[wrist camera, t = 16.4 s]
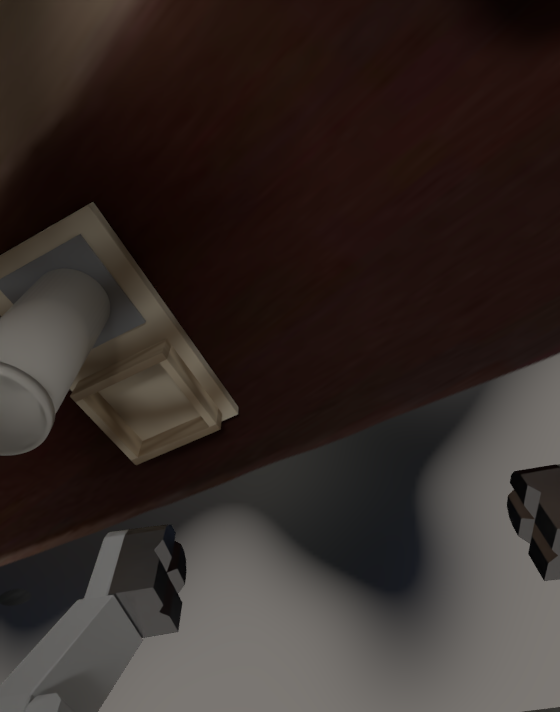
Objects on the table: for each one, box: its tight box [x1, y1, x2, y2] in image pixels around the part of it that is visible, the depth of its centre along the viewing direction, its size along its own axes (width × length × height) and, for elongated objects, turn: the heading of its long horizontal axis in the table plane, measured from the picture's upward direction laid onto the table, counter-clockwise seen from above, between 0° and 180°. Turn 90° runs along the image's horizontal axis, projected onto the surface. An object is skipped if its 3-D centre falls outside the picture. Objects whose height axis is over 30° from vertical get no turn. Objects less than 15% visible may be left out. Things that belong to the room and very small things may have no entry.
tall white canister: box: [0, 268, 110, 455], centre depth 33 cm, size 10×7×15 cm
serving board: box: [0, 202, 238, 465], centre depth 42 cm, size 24×13×4 cm, turn 26°
